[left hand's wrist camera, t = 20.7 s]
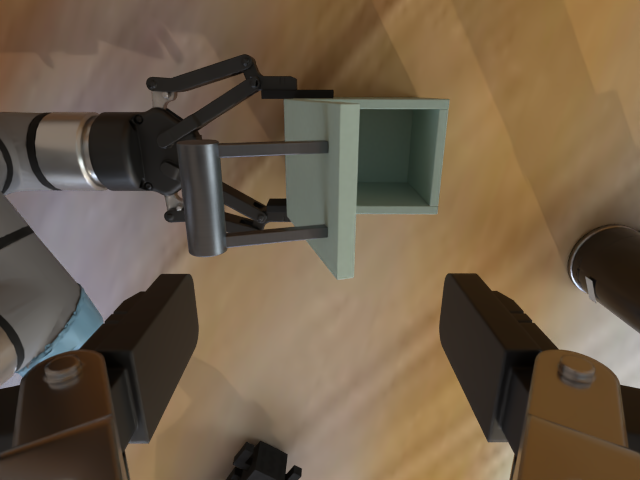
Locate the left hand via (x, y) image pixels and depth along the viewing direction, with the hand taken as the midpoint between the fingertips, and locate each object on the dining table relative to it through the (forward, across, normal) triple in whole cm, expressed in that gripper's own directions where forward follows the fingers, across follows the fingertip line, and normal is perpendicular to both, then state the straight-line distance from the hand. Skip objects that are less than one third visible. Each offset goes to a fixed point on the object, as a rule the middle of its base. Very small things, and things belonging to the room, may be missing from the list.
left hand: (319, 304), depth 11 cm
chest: (+37, +4, 0) cm, 38 cm away
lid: (+19, 0, 0) cm, 19 cm away
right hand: (+30, +1, 0) cm, 30 cm away
